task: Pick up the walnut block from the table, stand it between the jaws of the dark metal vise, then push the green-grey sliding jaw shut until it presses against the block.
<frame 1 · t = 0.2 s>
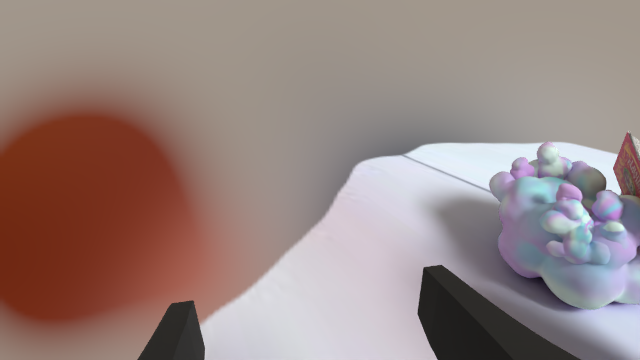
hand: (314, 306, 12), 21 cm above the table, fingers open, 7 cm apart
lumpy lavender blob: (587, 270, 44), on the table
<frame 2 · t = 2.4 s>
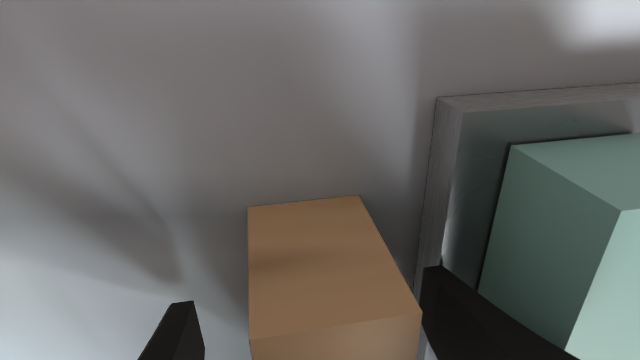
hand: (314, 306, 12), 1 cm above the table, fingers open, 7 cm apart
sliding jaw: (571, 315, 11), point 3 cm above the table, slide at 11.0 cm
walnut block: (307, 273, 13), on the table
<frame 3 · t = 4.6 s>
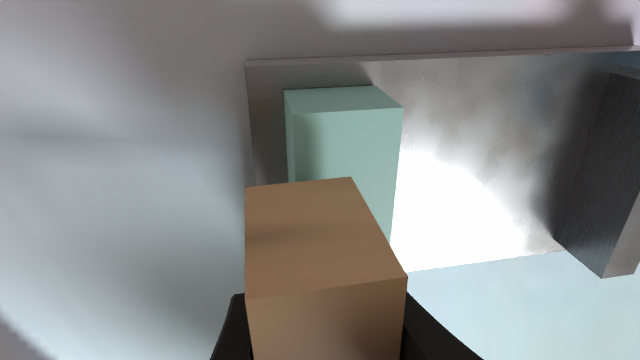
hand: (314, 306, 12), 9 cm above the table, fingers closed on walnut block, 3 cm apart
sliding jaw: (337, 207, 17), point 3 cm above the table, slide at 11.0 cm
walnut block: (303, 254, 14), point 7 cm above the table, touching gripper
vise: (438, 165, 21), on the table
when the fingers open (4 cm above the table, at t = 6.5 s): walnut block stays where it is, resting on vise.
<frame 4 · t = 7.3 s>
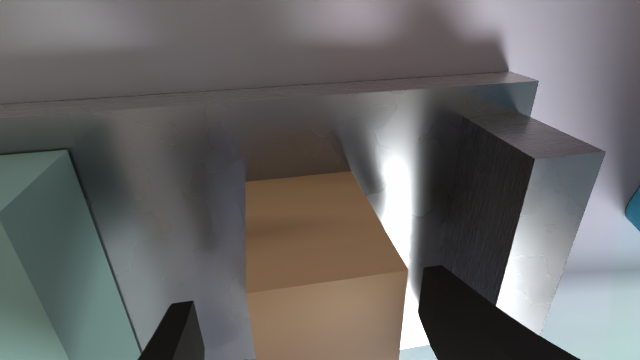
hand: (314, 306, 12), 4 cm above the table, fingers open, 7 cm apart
sliding jaw: (26, 334, 11), point 3 cm above the table, slide at 11.0 cm
walnut block: (303, 249, 14), point 1 cm above the table, touching vise
vise: (248, 240, 15), on the table
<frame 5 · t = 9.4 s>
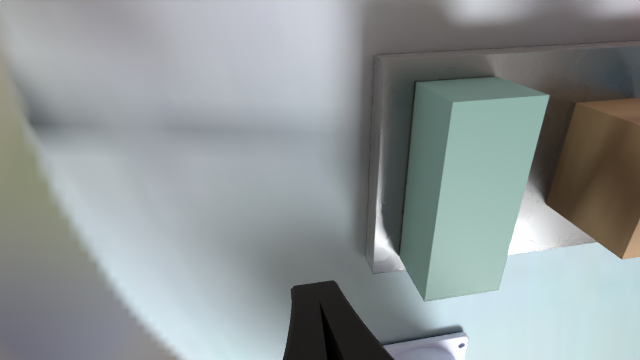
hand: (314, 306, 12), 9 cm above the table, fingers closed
sliding jaw: (459, 192, 18), point 3 cm above the table, slide at 11.0 cm
walnut block: (588, 154, 21), point 1 cm above the table, touching vise
vise: (535, 153, 22), on the table
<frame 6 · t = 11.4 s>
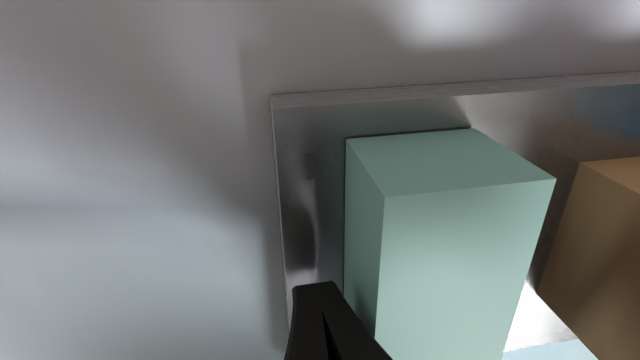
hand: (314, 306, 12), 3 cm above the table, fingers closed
sliding jaw: (418, 301, 12), point 3 cm above the table, slide at 10.5 cm, touching gripper
walnut block: (596, 229, 14), point 1 cm above the table, touching vise
vise: (521, 222, 16), on the table
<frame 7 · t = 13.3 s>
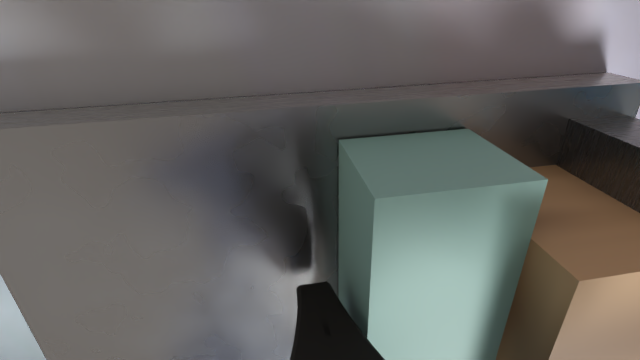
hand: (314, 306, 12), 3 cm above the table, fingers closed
sliding jaw: (412, 302, 12), point 3 cm above the table, slide at 2.5 cm, touching gripper, walnut block
walnut block: (490, 243, 14), point 1 cm above the table, touching sliding jaw, vise
vise: (329, 246, 14), on the table
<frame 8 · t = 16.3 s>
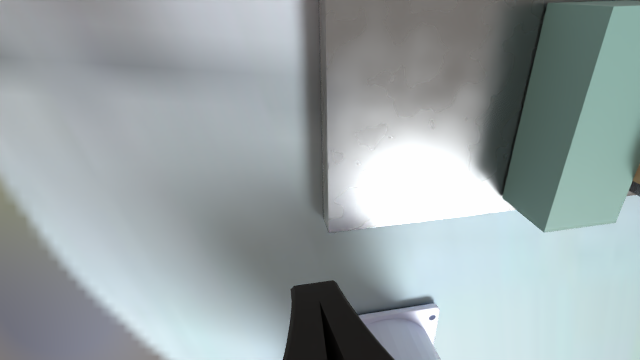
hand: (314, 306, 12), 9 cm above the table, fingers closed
sliding jaw: (583, 119, 18), point 3 cm above the table, slide at 2.5 cm, touching walnut block
vise: (502, 103, 20), on the table
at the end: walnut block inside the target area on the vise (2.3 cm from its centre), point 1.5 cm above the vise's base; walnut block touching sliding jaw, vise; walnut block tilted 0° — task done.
